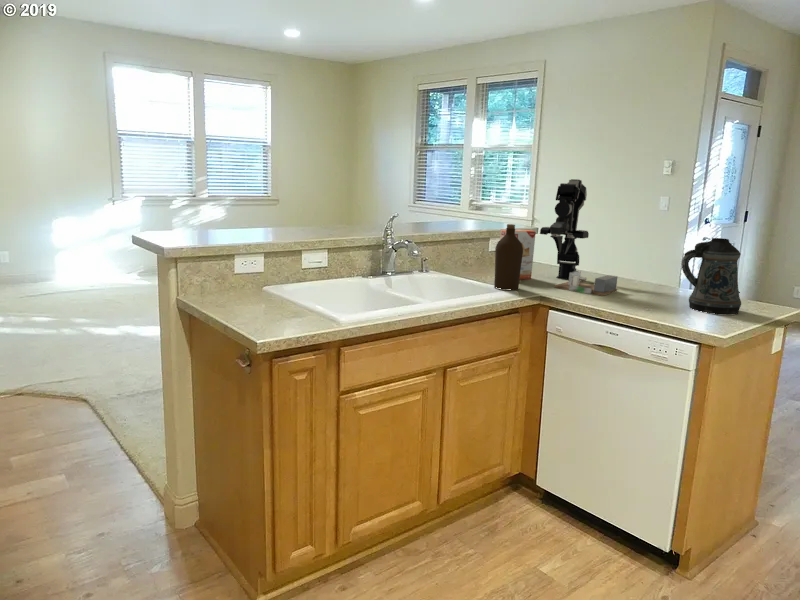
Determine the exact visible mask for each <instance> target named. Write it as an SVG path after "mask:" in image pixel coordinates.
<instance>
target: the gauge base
mask: <svg viewBox="0 0 800 600" xmlns="http://www.w3.org/2000/svg"><path fill="white" fill-rule="evenodd" d="M568 283H569V281H566V282H561V283H558V284H555V285H554V289H559V290H560V289H561V290H567V291H571V292H575V293H580V294H581V293H582V294H587V295H596V296H597V295H598V296H606V295H609V293H610V294H612V292H613V293H616V292H617V291H618V288H616V289H614V290H611V291H608V292H605V293H602V292H596V291H594V286H595V284H590V283H583V282H580V283H579V286H573V285H568ZM615 291H616V292H615Z"/></svg>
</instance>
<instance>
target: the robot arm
mask: <svg viewBox="0 0 800 600" xmlns="http://www.w3.org/2000/svg"><path fill="white" fill-rule="evenodd" d="M587 195H588V193H587V187H586V186H585V185H584V184H583V181H582V179H579V178H577V179H569V180H568V182H567V183H560V184H559V185H558V186H557V192H556V195H555V201H559V202H557V203H556V204H555V207H554V212H555V215H557V217H556V219H555V222H553V223H552V224H550V226H542V227H541V228H540V230H539V234H540V235H544V236H545V235H546V236H547V235H549V234H550V238H552V239H553V241H554V242H555V246H556V250H557V258H556V259H557V260H556V264H557V265H558V275H557V276H556V279H562V280H568V281H569V273H570V272H574V271H577V268H576V267H577V266H580V254H579V251H578V247H577V245H576V240H577V239H589V231H588V230H583V229H578V223H579V222H578V221H579V215H580V211H581V209H582V208H583V207H584V205H585V201H587ZM564 236H565V237H564ZM563 239H564V241H563Z"/></svg>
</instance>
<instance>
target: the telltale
mask: <svg viewBox="0 0 800 600" xmlns="http://www.w3.org/2000/svg"><path fill="white" fill-rule="evenodd" d="M573 286H579V277H578V276H574V277H573Z"/></svg>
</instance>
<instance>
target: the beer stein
mask: <svg viewBox="0 0 800 600" xmlns="http://www.w3.org/2000/svg"><path fill="white" fill-rule="evenodd" d="M740 257H741V251H740V250H738V248H737V247H735V246H734V245H733V244H732V243H731V242H730V240H729V239H728V238H721V237H720V238H719V237H713V238H711V240H709V241H704V242H703V241H701V242H698V243H696V244H695V246H694V249H691V250H688V251H686V252H685V253H684V254H683V257H682V260H681V269H682V272H683V274H684V276H685V278H686V279H687V280H688V282H689V283H690V284H691V285H692V286H693V287H694V288H693V290H692V292H691V294H690V295H689V296H688V304H689V305H688V306H689V307H690V309H691V308H692V309H691V310H693V309H694V310H693V311H696V310H698V311H697V312H700V311H702V312H701V313H704V312H707V313H706V314H710V313H715V314H714V315H718V314H735V315H737V314H736V313H739V312H740V311H739V310H741V306H742V300H741V298H740V297H741V296H740V291H739V274H738V273H739V270H738V269H739V268H738V263H739V262H738V261H739V259H740ZM694 258H696V259H697V258H699V259H701V263H700V266H699V269H698V272H697V277H695V276H694V274H693V273H692V272H691V268H690V266H689V263H690V261H691V260H692V259H694Z"/></svg>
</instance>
